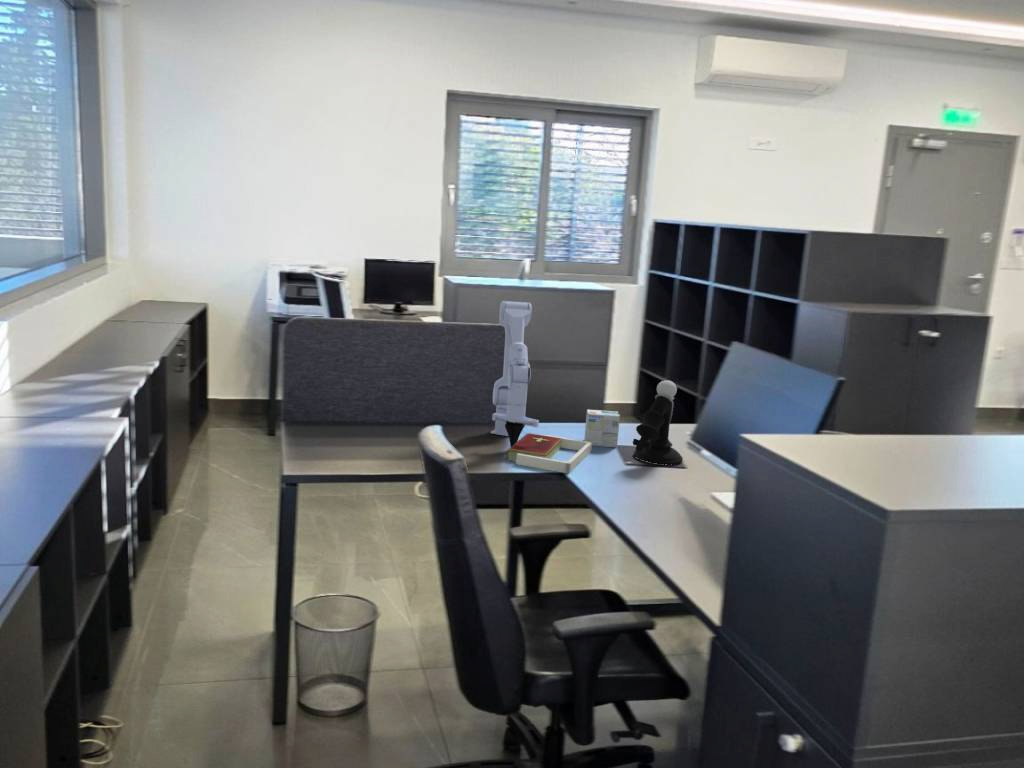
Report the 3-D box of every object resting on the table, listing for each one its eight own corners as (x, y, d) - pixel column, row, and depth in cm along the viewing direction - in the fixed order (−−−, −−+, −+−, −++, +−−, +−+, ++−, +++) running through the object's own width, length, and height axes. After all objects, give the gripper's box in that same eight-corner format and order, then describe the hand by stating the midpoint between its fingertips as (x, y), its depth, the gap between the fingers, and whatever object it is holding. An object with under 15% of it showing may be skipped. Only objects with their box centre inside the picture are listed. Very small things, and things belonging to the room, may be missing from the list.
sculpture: (689, 458, 272) (699, 382, 267) (659, 475, 252) (669, 392, 247) (645, 448, 280) (653, 373, 275) (613, 463, 260) (621, 383, 255)
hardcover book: (505, 461, 256) (507, 447, 255) (525, 444, 275) (526, 431, 275) (544, 467, 252) (545, 454, 252) (561, 450, 272) (562, 437, 271)
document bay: (542, 443, 276) (543, 434, 276) (591, 451, 271) (592, 442, 271) (516, 464, 252) (516, 454, 251) (569, 473, 247) (570, 463, 246)
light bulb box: (615, 442, 284) (618, 411, 282) (617, 448, 278) (620, 415, 276) (583, 440, 285) (586, 408, 282) (584, 445, 278) (587, 413, 276)
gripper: (490, 402, 261) (486, 445, 264) (535, 409, 257) (531, 452, 259) (498, 398, 268) (494, 440, 270) (542, 404, 263) (538, 447, 266)
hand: (513, 446), depth 265 cm, fingers closed
